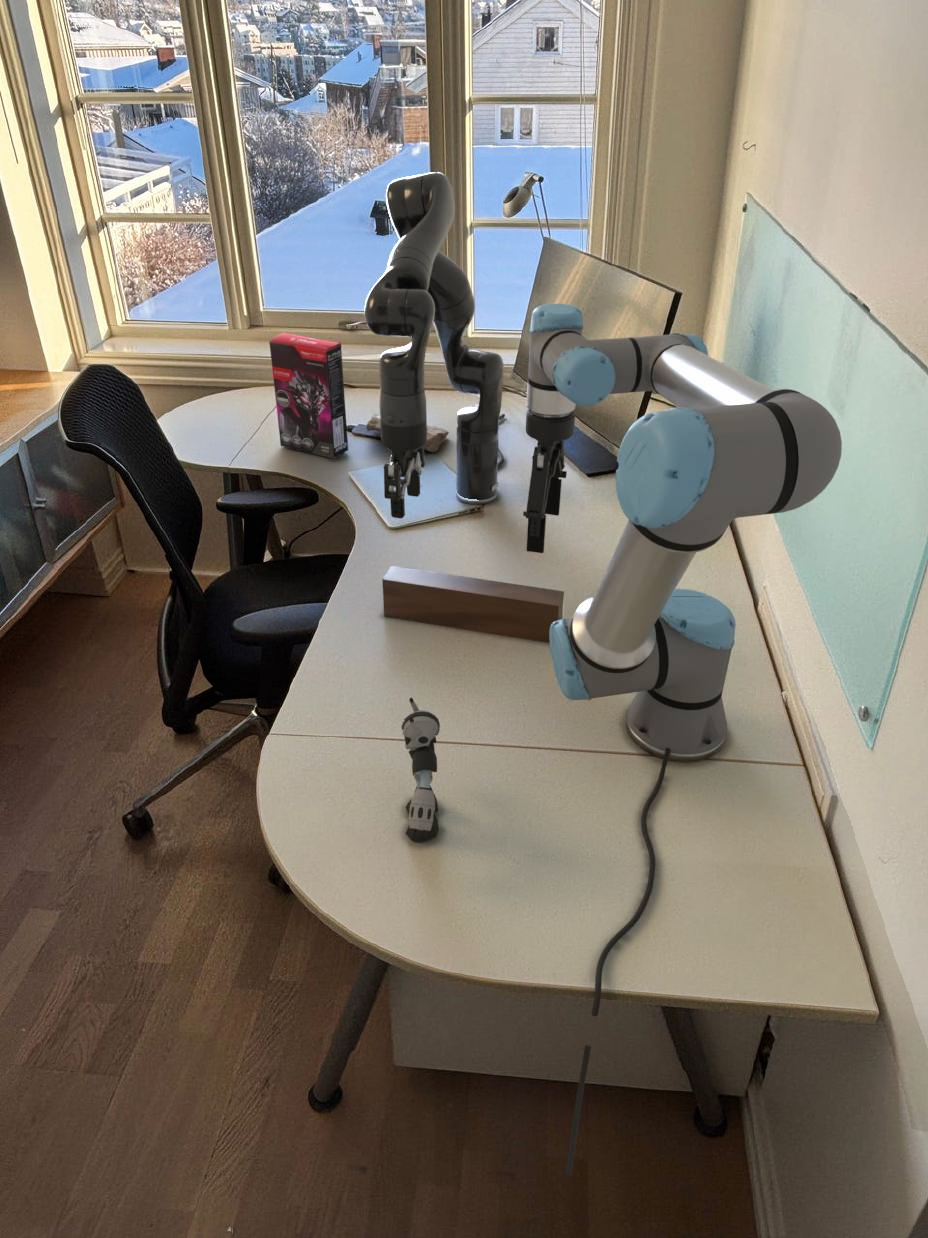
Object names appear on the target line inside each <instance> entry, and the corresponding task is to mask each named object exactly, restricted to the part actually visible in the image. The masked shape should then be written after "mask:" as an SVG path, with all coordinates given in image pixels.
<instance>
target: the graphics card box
mask: <svg viewBox="0 0 928 1238" xmlns="http://www.w3.org/2000/svg"><path fill="white" fill-rule="evenodd" d="M268 343H269V351H270V359H271V360H270V361H271V368H272V377H273V387H274V396H275V406H276V415H277V423H278V434H279V442H280V443H279V444H280V447H283V448H288V449H292V450H296V451H301V452H304V453H310V454H313V455H317V456H322V457H326V458H329V459H330V458H331V459H336V458H338V457H339V456H341V455H342V454H345V453H346V452H347V451H349V443H348V442H349V441H348V427H347V426H348V425H347V413H346V398H345V384H344V382H345V381H344V370H343V369H344V368H343V355H342V343H341V341H329V340H324V339H320V338H314V337H309V336H304V335H298V334H293V333H288V332H282V333H280V334H277V335H276V336H274V337H273V338H271V339H270V340H269V341H268Z"/></svg>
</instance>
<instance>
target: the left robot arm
mask: <svg viewBox="0 0 928 1238" xmlns="http://www.w3.org/2000/svg"><path fill="white" fill-rule="evenodd" d="M385 198H386V207H387V210H388V214H389V217H390V221H391V224H392V226H393V228H394V230H395V232H396V235H397V237H398V239H399V240H398V242H397V243H396V244H395V245H394V247H393V249H392V251H391V253H390V255H389V259H388V262H387V267H386V270H385V272H384V273H383V275H381V277H380V278H379V279H378V280H377V281H376V283H375V284H374V285H373V287H372V288H371V290H370V291H369V293H368V295H367V297H366V299H365V304H364V309H363V310H364V311H363V313H364V314H363V316H364V321H365V324H366V326H367V327H368V329H369V330H370V331H371V332H372V333H373V334H375V335H377V336H380V337H399V338H410V339H411V341H410V342H409V343H408V344H407V345H404V346H400V347H396V348H391V349H388V350H385V351H383V352H382V353H381V354H380V356H379V363H378V365H379V366H378V367H379V387H380V388H379V390H380V394H379V414H380V426H381V434H380V441H381V444H382V445H383V446H384V447H385V448H386V449H388V450H389V451H390V452H391V454H390V456H389V462H388V463H387V462H385V463H384V464H383V486H384V487H383V491H384V499H386V500H387V499H388V500H390V517H392V518H395V519H404V517H405V516H406V508H405V507H406V505H405V504H406V503H405V495H406V494H407V496H410V497H415V498H418V497H419V496H420V495H421V475H422V474H423V470H422V469H423V468H425V466H426V462H425V459H426V457H425V449H424V445H425V444H426V442H427V426H428V424H427V423H428V422H427V421H428V420H427V419H428V417H427V398H426V391H425V359H426V351H427V348H428V342H429V339H430V335H431V331H432V328H433V327H434V330H435V333H436V336H437V340H438V342H439V346H440V348H441V353H442V357H443V362H444V365H445V370H446V374H447V378H448V380H449V383H450V386H451V387H452V388H453V389H454V390H455V391H456V392H459V393H462V394H467V395H471V396H476V397H479V399H478V403H474V404H470V405H466V406H464V407H462V408H460V409H459V410H458V411H457V413H456V479H455V481H456V482H455V483H456V487H455V488H456V489H455V491H456V490H457V493H458V494H459V495H460V496H462V497H464V498H468V499H477V500H479V501H468V500H465V499H462V498H460V497H459V496H458V495H457V494H456V493H455V497H456V499H457V500H459V501H460V502H462V503H464V504H468V505H486V504H490V503H492V502H494V501H495V500H496V499H497V498H498V487H499V482H498V472H499V471H498V469H499V468H500V467H501V466H502V465H503V463H504V455H503V454H502V452H501V451H500V449H499V439H500V438H499V434H500V432H499V431H500V421H502V420H503V419H504V418H505V417H506V415H505V413H501V411H502V403H503V402H502V401H503V388H504V378H505V366H504V360H503V358H502V356H501V355H500V354H499V353H495V352H491V351H485V350H480V349H473V348H471V347H469V345H468V344H467V342H466V339H465V334H466V332H467V330H468V328H469V326H470V324H471V322H472V321H473V318H474V315H475V310H476V300H475V297H474V293H473V291H472V287H471V284H470V281H469V278H468V275H467V274H466V271H464V270H463V268H462V267H461V266H459V265H458V264H457V263H456V262H455V261H454V260H453V259H451V257H449V256H447V255H446V254H445V253H443V252H442V251H441V248H442V246H443V244H444V243H445V240H446V238H447V236H448V235H449V232H450V230H451V229H452V226H453V223H454V220H455V213H456V203H455V196H454V190H453V187H452V184H451V182H450V180H449V178H448V176H447V175H445V173H442V172H427V173H423V174H416V175H412V176H405V177H401V178H397V179H394V180H392V181H391V182H390V183H388V185H387V189H386V193H385Z"/></svg>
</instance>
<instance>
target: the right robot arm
mask: <svg viewBox="0 0 928 1238" xmlns="http://www.w3.org/2000/svg"><path fill="white" fill-rule="evenodd" d="M583 330H584V325H583V312H582V310H581V309H580V308H579V307H577V306H575V305H571V304H566V303H545V304H542V305H539V306H537V307H536V308H534V310H533V311H532V313H531V319H530V327H529V331H528V335H529V349H528V351H529V352H528V372H527V373H528V378H527V388H526V402H525V403H526V408H527V410H526V413H525V414H526V415H525V433H526V434H527V436H529V437H530V438H532V439H534V440H536V441H537V443H536V444H537V445H536V446H534V451H533V455H532V457H531V460H532V462H531V463H532V464H531V473H530V480H529V486H528V487H529V489H528V496H527V503H526V510H525V511H524V510H523V512H522V515H523V517H525V519H527V531H526V532H527V533H526V550H525V551H526V552H529V553H536V554H537V553H538V554H544V553H545V539H546V525H547V524H546V523H547V515H549V516H550V515H551V516H557V517H558V516H559V515H560V507H561V493H562V480H563V479H566V478H567V475H568V474H567V470H564V469H565V468H566V465H565V441H567V440H568V439H571V438H572V437H573V435H574V432H575V423H576V422H575V421H576V413H575V409H576V405H577V406H581V407H592V406H596V405H597V404H599V403H601V402H602V401H605V400H606V399H607V398H608V397H609V395H617V394H618V395H619V394H629V393H642V392H655V393H656V394H658V395H659V396H661V397H662V398H664V399H665V400H667V401H668V402H670V403H671V404H673V405H674V406H676V407H671V408H668V409H667V410H661V411H654V412H653V411H652V412H650V413H646V414H644V415H642V416H641V417H639V418H638V419H636V420H635V421H634V422H633V423H632V425H630V427H629V428H628V429H627V431H626V433H625V435H624V436H623V439H622V441H621V443H620V447H619V449H618V453H617V458H616V462H617V463H618V468H617V469H616V470H615V488H616V489H615V490H616V495H617V499H618V503H619V507H620V508H621V510H622V513H623V514H624V515H625V517H626V518H627V519H628V520H627V523H626V525H625V527H624V529H623V532H622V533H621V535H620V537H619V541H618V543H617V545H616V547H615V549H614V552H613V554H612V556H611V558H610V560H609V563H608V564H607V567H606V569H605V571H604V574H603V576H602V579H601V581H600V583H599V585H598V587H597V590H596V592H595V594H594V595H593V596H590V597H588V598H586V599H585V600H584V601H583V602H581V604H579V606H578V607H577V609H576V610H575V612H574V614H573V616H572V618H568V619H566V618H565V617H564V618H563V617H562V619H561V620H558V621H555V622H553V623H552V624H551V626H550V631H549V640H550V643H549V650H550V656H551V662H552V666H553V671H554V675H555V678H556V682H557V684H558V687H559V689H560V691H561V693H562V695H563V696H564V697H565V698H567V699H568V700H570V701H583V700H584V701H585V700H586V701H591V700H592V699H599V698H606V697H613V696H620V695H626V694H632V693H636V694H635V695H634V697H633V699H632V701H631V702H630V704H629V706H628V708H627V711H626V719H625V728H626V732H627V734H628V736H629V738H630V739H631V741H632V742H634V744H636V745H637V746H638V747H639V748H640V749H641V750H643V751H645V752H646V753H648V754H650V755H651V756H654V757H656V758H659V759H662V761H661V767H660V770H659V775H658V777H657V778H658V779H657V781H656V784H655V785H654V788H653V790H652V792H651V793H650V794H649V797H648V798H647V800H646V802H645V803H644V806H643V809H642V812H641V817H640V826H641V832H642V836H643V839H644V842H645V845H646V849H647V853H648V858H649V870H648V879H647V884H646V889H645V892H644V894H643V897H642V900H641V902H640V904H639V906H638V908H637V910H636V912H635V913H634V915H633V916H632V918H630V920H629V921H628V922H627V923H626V924H625V925H624V926H623V927H622V928H621V929H620V930H619V931H618V932H616V934H615V935H613V936H612V938H610V940H609V941H608V942H607V943H606V945H605V946H604V948H603V949H602V951H601V954H600V956H599V958H598V961H597V965H596V969H595V980H594V981H595V982H594V995H593V1002H592V1008H591V1015H592V1016H593V1017H598V1015H599V1009H600V1004H601V996H602V982H603V969H604V965H605V962H606V959H607V958H608V955H609V953H610V952H611V950H612V949H613V947H614V946H615V945H617V943H618V942H619V941H620V940H621V939H622V938H623V937H624V936H625V935H626V934H627V933H629V932H630V930H631V929H632V928H634V926H635V925H636V924H637V922H638V921H639V920H640V918H641V917H642V915H643V913H644V911H645V908H646V907H647V905H648V902H649V900H650V897H651V895H652V894H651V893H652V891H653V887H654V883H655V874H656V856H655V851H654V847H653V845H652V844H653V843H652V841H651V838H650V835H649V831H648V826H647V818H648V812H649V809H650V807H651V805H652V803H653V801H654V800H655V798H656V797H657V795H658V793H659V791H660V789H661V787H662V784H663V781H664V778H665V774H666V770H667V765H668V762H669V761H670V762H675V763H694V762H700V761H703V760H706V759H709V758H711V757H714V755H716V754H718V752H720V751H721V750H722V748H723V747H724V744H725V743H726V740H727V739H726V738H727V733H728V721H727V716H726V712H725V708H724V707H725V706H724V701H723V692H724V686H725V682H726V678H727V674H728V673H727V672H728V668H729V664H730V659H731V654H732V651H733V650H732V649H733V648H734V645H735V637H736V636H735V635H736V618H735V616H734V614H733V612H732V611H731V609H730V608H729V607H728V606H727V605H726V604H725V603H723V602H722V601H720V600H719V599H717V598H715V596H712V595H709V594H707V593H704V592H701V591H699V590H698V591H697V590H694V589H689V588H688V589H687V588H677V586H678V585H679V583H680V582H681V580H682V578H683V576H684V574H685V573H686V572H687V569H688V568H689V566H690V564H691V562H692V561H693V559H694V558H695V556H696V554H697V553H700V552H703V551H705V550H707V549H709V548H711V547H713V546H715V545H716V544H717V543H718V542H719V541H720V540H721V538H722V537H723V536H724V534H725V533H726V531H727V530H728V528H729V526H730V525H731V523H732V521H734V520H736V519H738V518H747V517H748V518H749V517H755V516H756V517H757V516H764V515H773V514H782V513H783V514H784V513H787V512H790V511H793V510H796V509H799V508H801V507H802V506H804V505H806V504H808V503H810V502H813V500H815V499H816V498H817V497H818V496H819V495H820V494H822V493H823V492H824V491H825V489H826V488H827V487H828V486H829V484H830V483H831V482H832V480H833V479H834V477H835V475H836V473H837V470H838V468H839V466H840V462H841V457H842V449H843V446H842V445H843V443H842V436H841V431H840V429H839V426H838V423H837V421H836V419H835V417H834V416H833V415H832V414H831V413H830V411H829V409H827V408H826V407H825V406H824V405H822V404H821V403H820V402H818V401H817V400H815V399H813V398H811V397H809V396H807V395H806V394H804V393H801V392H799V391H797V390H795V389H791V388H778V389H773V388H770V387H769V386H767V385H765V384H763V383H761V382H759V381H757V380H755V379H754V378H752V377H750V376H748V375H746V374H744V373H742V372H741V371H739V370H736V369H734V368H732V367H730V366H729V365H727V364H725V363H723V362H721V361H719V360H717V359H716V358H713V357H711V356H710V355H709V350H708V347H707V345H706V344H704V343H705V342H704V339H703V338H702V337H701V336H700V335H698V334H695V333H679V332H673V333H670V334H660V335H648V336H646V335H645V336H634V337H633V336H632V337H619V338H618V337H615V338H599V339H587V338H586V336H583V335H582V333H583ZM583 1050H584V1051H583V1054H582V1061H581V1067H580V1073H579V1079H578V1086H577V1092H576V1098H575V1104H574V1105H575V1106H574V1112H573V1120H572V1127H571V1133H570V1142H569V1150H568V1157H567V1163H566V1171H565V1174H566V1175H567V1176H569V1177H570V1176H572V1174H573V1173H572V1172H573V1167H574V1159H575V1153H576V1147H577V1146H576V1145H577V1138H578V1131H579V1126H580V1125H579V1124H580V1117H581V1112H582V1105H583V1098H584V1093H585V1092H584V1091H585V1085H586V1080H587V1073H588V1067H589V1062H590V1055H591V1051H592V1046H590V1045H586V1044H584V1049H583Z"/></svg>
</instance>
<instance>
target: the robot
mask: <svg viewBox="0 0 928 1238" xmlns="http://www.w3.org/2000/svg"><path fill="white" fill-rule="evenodd" d="M408 700H409V703H410V705H411V708H412V711H413V712H411V713H409V714H408V715H407V716H406V717H405V718H403V721H402V723H401V727H400V728H401V731H402V732H401V733H402V735H403V737H404V743H405V744H404V745H405V746H404V747H405V749H406V750H408V754H409V756H410V758H411V761H412V762H411V763H412V764H411V771H412V776H413V778H414V779H415V782H416V787H415V789H414V791H413V792H414V793H413V795H412V797H411V799H410V800H409V801H408V802H407V803H406V805H405V809H406V811H407V814H408V827H407V829H406V831H405V835H406V836H407V837H408V839H410V840H411V841H412V842H416V843H425V842H428V841H430V840H432V839H435V838H437V835H438V832H439V830H440V828H439V820H438V817H437V815H436V813H438V811H439V808H438V799H437V797H436V794H435V792H434V789H433V788H432V785H431V783H432V782H433V773H437V772H438V757H437V754H436V752H435V744H437V737H436V736H438V735H439V733H440V730H441V729H440V728H441V724H440V721H439V718H438V717H437V716H436V715H435V714H433V713H432V712H430V711H428V710H424V709H423V710H420V709H419V707H418V705H417V704H416V702H415V700H414V698H413V697H409V699H408Z"/></svg>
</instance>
